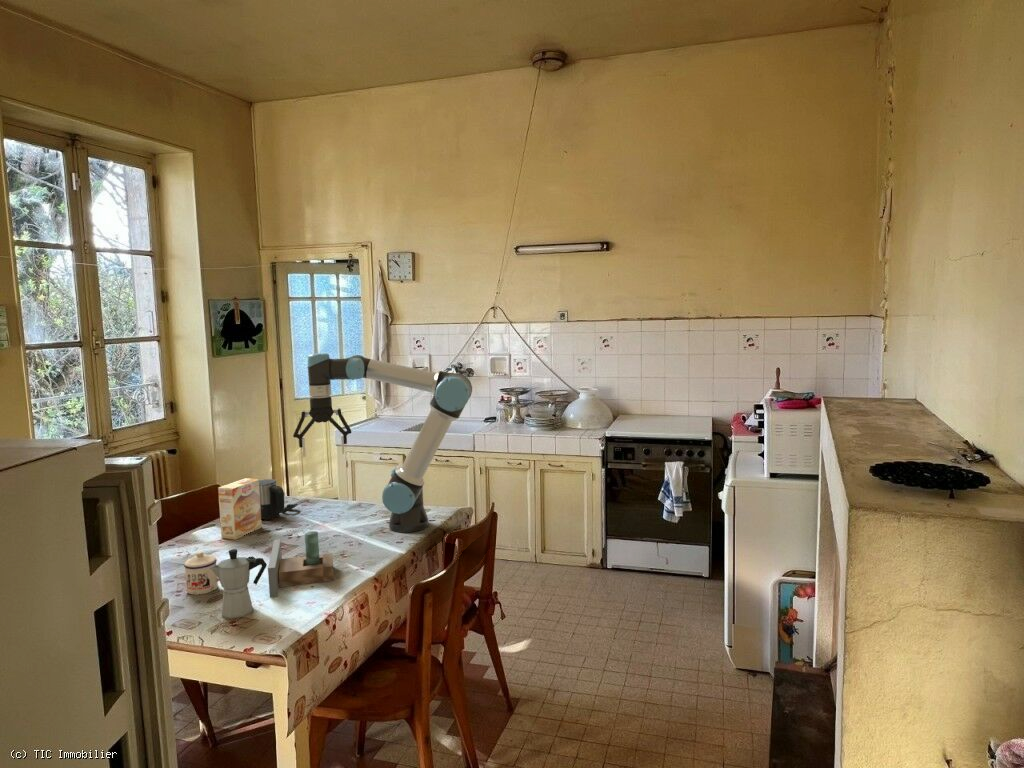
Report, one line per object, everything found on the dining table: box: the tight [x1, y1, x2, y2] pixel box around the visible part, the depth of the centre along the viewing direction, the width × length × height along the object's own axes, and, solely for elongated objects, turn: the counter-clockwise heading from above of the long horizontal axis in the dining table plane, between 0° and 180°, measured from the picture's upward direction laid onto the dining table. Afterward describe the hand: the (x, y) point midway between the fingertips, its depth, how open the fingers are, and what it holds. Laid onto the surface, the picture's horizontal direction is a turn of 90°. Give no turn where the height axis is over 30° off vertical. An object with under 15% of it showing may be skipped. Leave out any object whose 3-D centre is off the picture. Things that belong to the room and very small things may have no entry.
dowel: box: [304, 530, 320, 566], centre depth 217 cm, size 4×4×14 cm
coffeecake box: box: [217, 477, 263, 541], centre depth 261 cm, size 15×7×20 cm, turn 161°
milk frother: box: [259, 478, 298, 520], centre depth 284 cm, size 14×16×15 cm
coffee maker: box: [209, 548, 268, 620], centre depth 192 cm, size 15×9×18 cm, turn 114°
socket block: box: [279, 553, 335, 588], centre depth 217 cm, size 16×12×4 cm
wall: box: [267, 538, 283, 599], centre depth 214 cm, size 2×26×9 cm, turn 15°
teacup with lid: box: [183, 551, 220, 596], centre depth 209 cm, size 12×9×12 cm
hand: (323, 454), depth 249 cm, fingers open, 13 cm apart
